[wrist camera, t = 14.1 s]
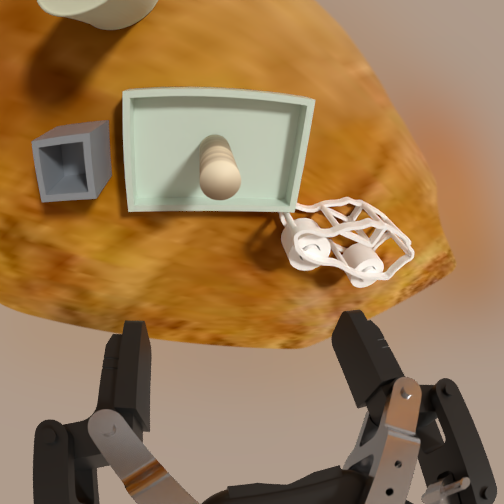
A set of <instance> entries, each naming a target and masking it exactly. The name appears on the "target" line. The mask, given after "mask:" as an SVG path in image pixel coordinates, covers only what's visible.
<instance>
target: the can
mask: <svg viewBox="0 0 504 504" xmlns="http://www.w3.org/2000/svg"><path fill="white" fill-rule="evenodd" d="M37 2H38V4H39V6H40V7H41V8H42V9H43V10H44V11H45V12H47V13H48V14H50V15H53V16H58V17H67V18H71V19H75V20H78V21H82V22H85V23H88V24H91V25H92V26H94V27H96V28H99V29H103V30H117V29H122V28H125V27H128V26H130V25H133V24H134V23H136V22H138V21H140V20H141V19H142V18H144V17H145V16H146V15H147V14H148V13H149V12H150V11H151V10H152V9H153V8H154V6H155V5H156V3H157V2H158V0H37Z"/></svg>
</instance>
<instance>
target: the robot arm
mask: <svg viewBox="0 0 504 504" xmlns="http://www.w3.org/2000/svg"><path fill="white" fill-rule="evenodd" d="M332 346H333V348H334V351H335V353H336V356H337V358H338V361H339V363H340V365H341V368H342V370H343V373H344V375H345V378H346V380H347V383H348V385H349V388H350V390H351V393H352V395H353V398H354V401H355V403H356V406H357V408H361V407H365V406H367V408H368V411H367V413H366V415H365V418H364V421H363V424H362V427H361V431H360V433H359V436H358V439H357V442H356V445H355V448H354V450H353V451H352V452H351V454H350V455H349V456H348V458H347V460H346V462H345V464H344V466H343V469H341V468H340V466H335V467H332V468H328V469H325V470H321V471H317V472H314V473H312V474H310V475H308V476H306V477H304V478H302V479H300V480H297V481H295V482H293V483H291V484H288V485H280V484H263V483H254V484H246V485H237V486H228V487H227V490H224V491H221V492H219V493H216V494H214V495H213V496H211V497H209V498H208V499H206V500H205V501H204V502H203V503H202V504H413V503H411V502H409V501H407V500H406V498H407V495H408V491H409V488H410V485H411V481H412V477H413V474H414V470H415V466H416V462H417V457H418V460H419V463H420V466H421V469H422V473H423V476H424V479H425V482H426V486H427V490H426V492H425V493H424V494H423V495H422V499H421V500H422V502H423V503H425V504H493V502H494V501H495V498H496V495H497V486H496V483H495V480H494V477H493V474H492V470H491V467H490V464H489V461H488V459H487V456H486V453H485V450H484V447H483V445H482V442H481V439H480V437H479V434H478V432H477V430H476V427H475V424H474V422H473V420H472V417H471V415H470V413H469V410H468V408H467V406H466V404H465V402H464V399H463V397H462V395H461V393H460V391H459V389H458V387H457V385H456V384H455V383H454V382H453V381H452V380H450V379H447V378H443V379H441V380H439V381H438V382H437V383H436V384H435V385H419V384H418V383H417V382H416V381H415V380H413V379H412V378H409V377H405V376H404V374H403V372H402V370H401V368H400V366H399V364H398V362H397V361H396V359H395V357H394V355H393V353H392V351H391V349H390V347H388V344H387V342H386V340H384V336H383V334H382V333H381V331H380V329H379V328H378V327H377V326H376V325H375V324H374V323H373V322H372V321H371V320H369V321H367V319H366V317H365V315H364V313H363V312H362V311H361V310H352V311H344V312H343V313H342V314H341V316H340V318H339V320H338V323H337V325H336V327H335V329H334V331H333V333H332ZM102 367H103V369H102V373H101V380H100V387H99V396H98V403H97V407H96V410H95V412H94V413H93V414H92V415H91V416H90V417H89V418H88V419H86V420H84V421H80V422H75V423H70V424H65V425H62V424H61V423H59V422H58V421H55V420H45V421H43V422H41V423H40V424H39V425H38V426H37V428H36V431H35V438H34V455H33V496H34V504H99V494H98V482H97V468H98V467H104V466H109V465H110V466H111V467H112V469H113V470H114V471H115V473H116V474H117V475H118V477H119V478H120V479H121V481H122V482H123V483H124V485H125V488H126V490H127V491H128V493H129V494H130V496H131V497H132V498H133V499H134V500H135V502H136V503H137V504H199V503H198V502H197V501H196V500H195V499H194V498H193V497H192V496H191V495H190V494H188V492H186V491H185V489H184V488H182V486H181V485H180V484H179V483H178V482H177V481H175V479H174V478H173V477H172V476H171V475H170V474H169V473H168V472H167V471H166V470H165V469H164V467H163V466H162V465H161V464H160V463H159V462H158V461H157V460H156V459H155V457H154V456H153V455H152V454H151V453H150V452H149V451H148V449H147V448H146V447H145V446H144V444H143V431H146V432H150V380H151V345H150V341H149V337H148V333H147V329H146V324H145V321H125V323H124V328H123V334H113V335H112V337H111V338H110V340H109V341H108V343H107V344H106V348H105V355H104V360H103V366H102ZM436 418H438V419H439V422H440V424H441V427H442V429H443V432H444V434H445V438H446V441H445V443H444V441H443V439H442V436H441V434H440V431H439V429H438V426H437V424H436V421H435V419H436Z"/></svg>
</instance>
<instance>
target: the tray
mask: <svg viewBox="0 0 504 504" xmlns="http://www.w3.org/2000/svg"><path fill="white" fill-rule="evenodd" d="M314 105H315V100H314V99H311V98H308V97H304V96H298V95H291V94H284V93H277V92H268V91H259V90H248V89H235V88H217V87H153V88H136V89H128V90H125V91H123V150H124V168H125V182H126V193H127V204H128V212H141V211H259V212H295V208H296V203H297V198H298V193H299V188H300V183H301V177H302V172H303V167H304V162H305V156H306V151H307V145H308V140H309V134H310V128H311V123H312V117H313V111H314ZM210 135H220V136H223V137H224V138H225V139H226V140H227V141H228V143H229V146H230V148H231V151H232V154H233V156H234V159H235V162H236V165H237V167H238V170H239V173H240V176H241V186H240V188H239V190H238V192H237V193H236V194H235V195H234V196H232V197H231V198H229V199H226V200H213V199H211V198H209V197H207V196H206V195H205V194H204V193H203V192H202V190H201V188H200V172H199V148H200V144H201V142H202V141H203V139H204V138H206V137H207V136H210Z"/></svg>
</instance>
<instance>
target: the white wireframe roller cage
mask: <svg viewBox="0 0 504 504" xmlns="http://www.w3.org/2000/svg"><path fill="white" fill-rule="evenodd" d="M348 203H350V204H353V205H355V206H356V207H355V208H354V210H353V211H352V213H351V214H350V216H345V215H343V214H341V213H339V212H337V211H335V210H332V209H330V208H328V207H331V206H343V205H346V204H348ZM295 209H298V210H301V211H305V212H317V211H319V210H321V211H322V212H323V214H324V215H325V216H326V218H327V219H328V220H329V222H330V223H331V224H332V226H333V227H332V228H329V229H321V228H320V227H319V226H318V224H317V223H316V222H315V221H313V220H312V219H308V218H299V219H296V220H293V219H292V217H291V215H290V213H289V212H279V218H280V220H281V222H282V224H283V225H284V227H285V228H284V230H283V232H282V234H281V242H282V245H283V247H284V250H285V252H286V254H287V257H288V259H289V261H290V264H291V265H292V266H293V267H294V268H296V269H298V270H304V271H306V270H312V269H314V268H317V267H319V266H320V265H324V266H335V267H339V268H341V269H343V270H344V271H345V273H346V275H347V276H348V278H349V280H350V281H351V283H352V284H353V286H355V287H359V288H362V287H367V286H369V285H371V284H373V283H374V282H375V281H376V280H388V279H390V278H391V277H392V276H393V275H394V273H395V272H396V271H397V270H399V269H400V268H401V267H402V266H403V265H404V264H406V263H407V262H409V261H411V260H412V259H413V258H414V250H413V249H412V248H411V246H410V245H411V240H410V239H409V238H408V237H407V236H406V235H405V234H403V233H402V232H401V231H400V230H399V229H398V228H397V227H396V226H395V225H394V224H393V223H392V222H391V220H390V219H389V218H388V217H387V216H386V215H385V214H383V213H382V212H381V211H379V210H378V209H376V208H375V207H373V206H371V205H370V204H368V203H366V202H364V201H363V200H354V199H351V198H349V197H344V198H342V199H338V200H325V201H322V202H319V203H317V204H314V205H312V206H306V205H302V204H299V203H296V208H295ZM362 209H364V210H365V211H366V212H367V213H368V214H369V216H370V217H371V218H372V219H373V220H372V219H370V218H366V219H363V220H361V221H356V222H355V220H356V218H357V217H358V215H359V214H360V212H361V211H362ZM376 213H377V214H378V215H380V216H381V218H382V220H383V221H382V220H381V219H380V218H379V217H378V216H377V214H376ZM333 216H335V217H338V218H340V219H342V220H344V221H346V222H345V223H341V224H339V223H338V222H337V220H336V219H335V218H334V217H333ZM284 217H285V218H284ZM285 219H286V221H287V222H286V221H285ZM370 226H372V227H375V228H376V229H375V231H374V232H373V234H372V235H371V237H370V238H368V236H367V235H366V234H365V233H364V232H363V230H362V229H365V228H367V227H370ZM350 230H355V231H356V232H357V233H358V235H359V236H358V235H356V234H354V233H352V232H350ZM386 230H388V231H387V232H386V233H384V232H385V231H386ZM383 233H384V234H383ZM394 233H395V234H397V235H398V236H399V238H400V239H401V240H402V241H403V242H404V243H403V242H402V241H401V240H400V239H399V238H398V237H397V236H396V235H395V234H394ZM338 234H340V235H342V236H345V237H347V238H349V239H352V240H354V241H356V242H359V243H356V244H353V245H351V246H350V247H349V248H345V247H342V246H340V245H338V244H336V243H334V242H333V241H332V240H331V239H327V238H326V237H334V236H337V235H338ZM391 237H392V239H393V240H394V241H395V242H396V243H397V244H398V245H399V246H400V248H401V249H402V250H403V251H404V252H405V253H406V255H404V256H402V257H401V258H399V259H398V260H397V261H396V262H395V263H393V264H392V265H391V266H390V267H389V269H388V270H387V271H386V272H385V273H382V272H383V269H384V265H383V263H382V261H381V259H380V258H379V257H378V256H377V254H376V253H375V252H374V251H375V250H376V248H377V247H378V246H379V245H381V244H382V243H383V242H384V241H385V240H387V239H389V238H391ZM404 244H405V245H404ZM331 249H332V251H333V253H334V254H335V256H336V257H337V259H338V260H337V259H334V258H328V256H329V254H330V250H331ZM339 251H341V252H343V255H341V253H340V252H339Z"/></svg>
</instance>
